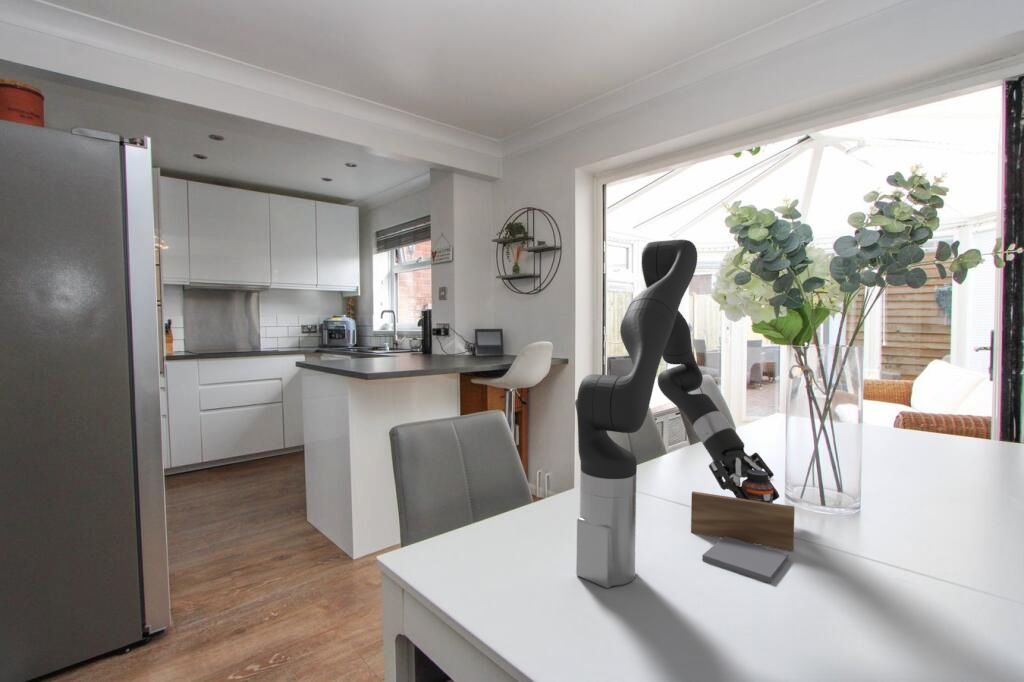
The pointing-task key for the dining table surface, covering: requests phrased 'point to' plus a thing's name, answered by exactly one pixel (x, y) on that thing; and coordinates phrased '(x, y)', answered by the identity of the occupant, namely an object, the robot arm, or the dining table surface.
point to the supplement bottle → (758, 486)
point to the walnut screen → (743, 520)
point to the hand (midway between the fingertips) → (762, 502)
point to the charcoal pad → (746, 558)
